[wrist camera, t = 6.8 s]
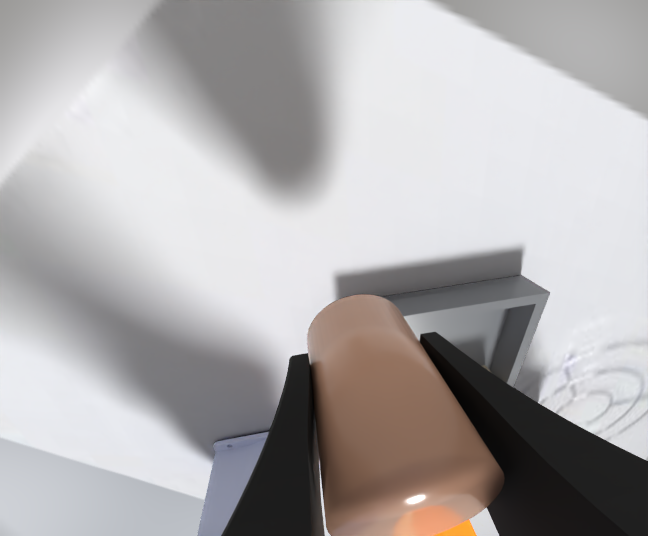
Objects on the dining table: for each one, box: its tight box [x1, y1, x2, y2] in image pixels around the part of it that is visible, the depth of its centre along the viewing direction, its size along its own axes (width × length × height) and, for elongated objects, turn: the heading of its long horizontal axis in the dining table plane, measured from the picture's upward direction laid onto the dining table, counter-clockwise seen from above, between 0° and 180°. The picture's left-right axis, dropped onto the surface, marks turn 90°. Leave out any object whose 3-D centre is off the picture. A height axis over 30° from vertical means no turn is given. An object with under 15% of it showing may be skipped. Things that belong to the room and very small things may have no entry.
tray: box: [382, 275, 550, 387], centre depth 22 cm, size 14×15×2 cm
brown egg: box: [307, 294, 505, 536], centre depth 9 cm, size 4×4×6 cm
